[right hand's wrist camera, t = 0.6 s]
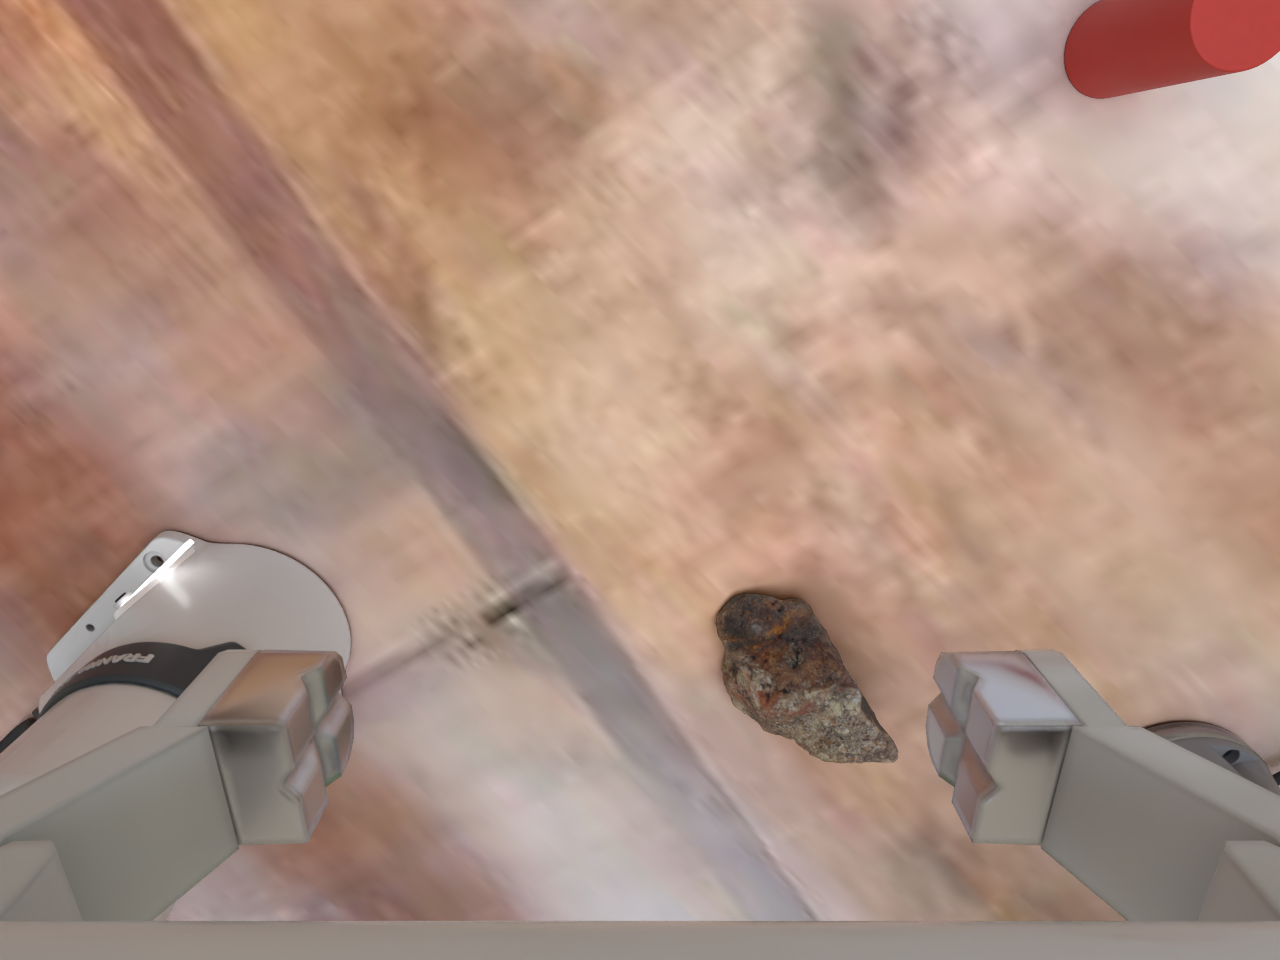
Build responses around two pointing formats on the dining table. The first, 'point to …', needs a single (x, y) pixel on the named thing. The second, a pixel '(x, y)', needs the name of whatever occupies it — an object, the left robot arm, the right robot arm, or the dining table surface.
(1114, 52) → the cylinder
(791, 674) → the rock
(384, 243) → the dining table surface
